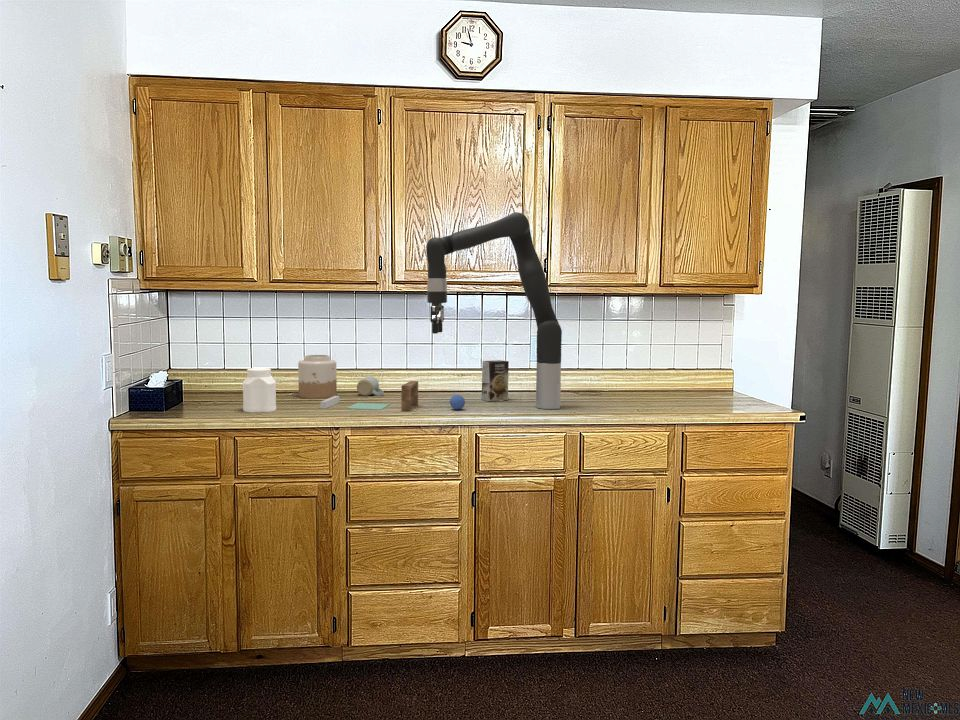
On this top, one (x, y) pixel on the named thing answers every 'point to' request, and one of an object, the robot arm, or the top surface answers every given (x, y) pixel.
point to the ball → (457, 402)
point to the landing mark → (368, 406)
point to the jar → (259, 391)
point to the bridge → (409, 395)
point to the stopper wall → (329, 402)
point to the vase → (317, 377)
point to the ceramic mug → (369, 386)
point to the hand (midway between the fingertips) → (437, 332)
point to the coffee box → (495, 380)
